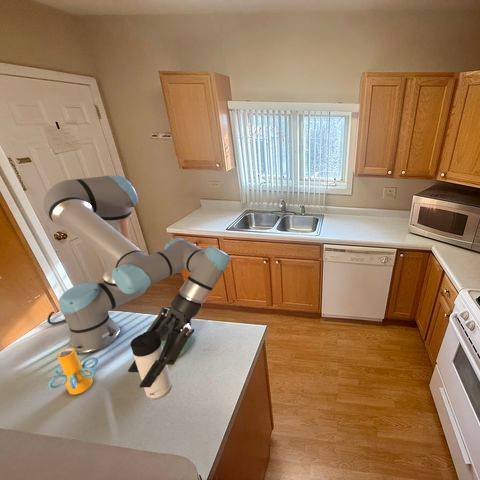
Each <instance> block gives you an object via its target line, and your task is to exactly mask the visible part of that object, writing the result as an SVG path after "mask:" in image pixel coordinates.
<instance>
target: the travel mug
mask: <svg viewBox="0 0 480 480" xmlns="http://www.w3.org/2000/svg"><path fill="white" fill-rule="evenodd" d="M146 331H147V330H146ZM146 331H145V332H143V333H141V334H139V335H137V336H136V337H134V338H133V339H132V340H131V342H130V348H131V351H132V355H133V359H134V360H135V362H136V365H137V368H138V371H139V372H138V373H139V377H140V380H141V382H142V381H143V379H144V377H145V376H146V374H147V373H148V371H149V370H150V368H151V367H152V365H153V364H154V362H155V361H156V360H159V358H160V355H161V353H162V350H163V346H162V342H161V340H160V335H159V332H157V331H147V332H146ZM172 387H173V381H172V377H171V374H170V370H169V365H166V366H165V367H164V369H163V370H162V372H161V374H160V375H159V376H157V378H156V379H155V381H154V382H153V384H152V386H151V387H144V388H143V389H144V393H145V395H146V398H147V400H149V401H158V400H161V399H163V398H165V397H167V395H168V394H169V393H170V392H171V390H172Z"/></svg>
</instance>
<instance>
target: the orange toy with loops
mask: <svg viewBox="0 0 480 480" xmlns="http://www.w3.org/2000/svg"><path fill="white" fill-rule="evenodd" d="M78 355H79V354H77V353H76V351H75V349H74V348H70V347H66V348H64V349H62V350H60V351H59V352H58V353H57V354H56V358H57V360H58V362H59V364H60V366H58V367H55V368H54V369H53V373H54V374H55V376H54V377H52V378H50V380H49V381H48V383H47V386H48V388H49V389H51V390H55V389H59V388H61V387H62V386H64V385H65V387H66V389H67V391H68V394H70V395H78V394H81V393H83V392H85V391H87V390H89V388H90V387H91V386H92V385H93V382H94V379H93V377H95V376H96V371H95V369H94V368H95V367H96V366H97V365H98V363H99V358H98V357H96V356H91V357H88V358H87V359H85V360H84V361H83V362H82V363H81V359H80V357H79V356H78ZM93 360H94V361H95V362H94V363H93V364H92V365H90V366H86V364H87V363H88V362H89V361H93ZM58 370H59V371H63V373H64V374H63V373H60V372H59V371H58ZM59 378H63V380H62V382H61V383H59V384H57V385H53V382H54V381H55V380H57V379H59Z"/></svg>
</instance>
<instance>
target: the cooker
mask: <svg viewBox="0 0 480 480" xmlns="http://www.w3.org/2000/svg"><path fill="white" fill-rule="evenodd" d="M191 326H192V325H191ZM191 326H190V327H191ZM191 328H192V327H191ZM193 336H194V335H193V333H192V334H191V336H190V337H189V338H188V340H187V342H186V343H185V345H184V347H183V349H182V351H181V352H180V354H179V356H181V355H183V354H185V353H186V352H188V351H189V350H190V349H191V347H192V346H193V344H194V337H193ZM161 342H162V346H163V348H164V345H165V343H166V341H161ZM165 358H166V357H165Z"/></svg>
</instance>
